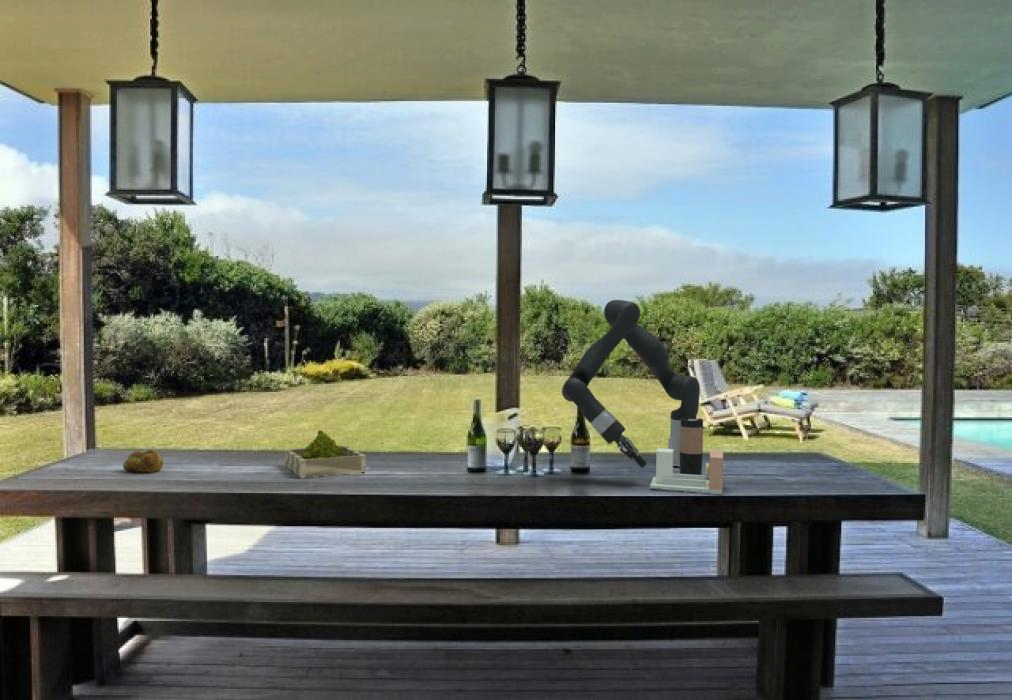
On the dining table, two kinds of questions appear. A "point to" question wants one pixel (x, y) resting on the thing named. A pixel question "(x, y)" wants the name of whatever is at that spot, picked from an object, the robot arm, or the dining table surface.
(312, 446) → the vegetable
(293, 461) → the veg crate
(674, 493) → the dining table surface
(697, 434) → the travel mug
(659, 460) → the white rectangular block
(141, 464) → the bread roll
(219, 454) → the dining table surface
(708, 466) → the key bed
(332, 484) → the dining table surface
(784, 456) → the dining table surface
